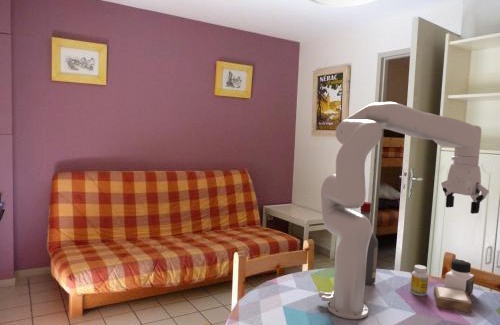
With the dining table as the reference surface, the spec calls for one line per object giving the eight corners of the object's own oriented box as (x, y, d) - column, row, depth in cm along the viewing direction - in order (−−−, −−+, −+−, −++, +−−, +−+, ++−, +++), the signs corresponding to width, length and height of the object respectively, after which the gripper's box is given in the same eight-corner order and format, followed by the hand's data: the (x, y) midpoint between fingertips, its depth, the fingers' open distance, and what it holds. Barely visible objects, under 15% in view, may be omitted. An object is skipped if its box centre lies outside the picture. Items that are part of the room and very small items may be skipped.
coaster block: (436, 306, 128) (437, 296, 127) (433, 294, 137) (434, 285, 137) (470, 312, 124) (471, 302, 124) (465, 299, 134) (466, 290, 133)
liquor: (352, 285, 142) (357, 205, 139) (345, 275, 151) (350, 199, 148) (376, 286, 142) (382, 205, 139) (368, 276, 151) (374, 200, 148)
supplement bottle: (416, 288, 142) (418, 263, 141) (429, 294, 137) (432, 267, 136) (407, 291, 139) (409, 265, 138) (420, 297, 134) (423, 270, 133)
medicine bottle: (465, 299, 134) (468, 266, 132) (443, 292, 139) (446, 260, 138) (472, 294, 138) (475, 261, 137) (451, 287, 144) (454, 255, 143)
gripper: (436, 158, 140) (433, 205, 142) (482, 164, 124) (477, 216, 126) (451, 158, 143) (447, 204, 145) (497, 163, 127) (492, 215, 129)
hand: (461, 210), depth 135 cm, fingers open, 9 cm apart
